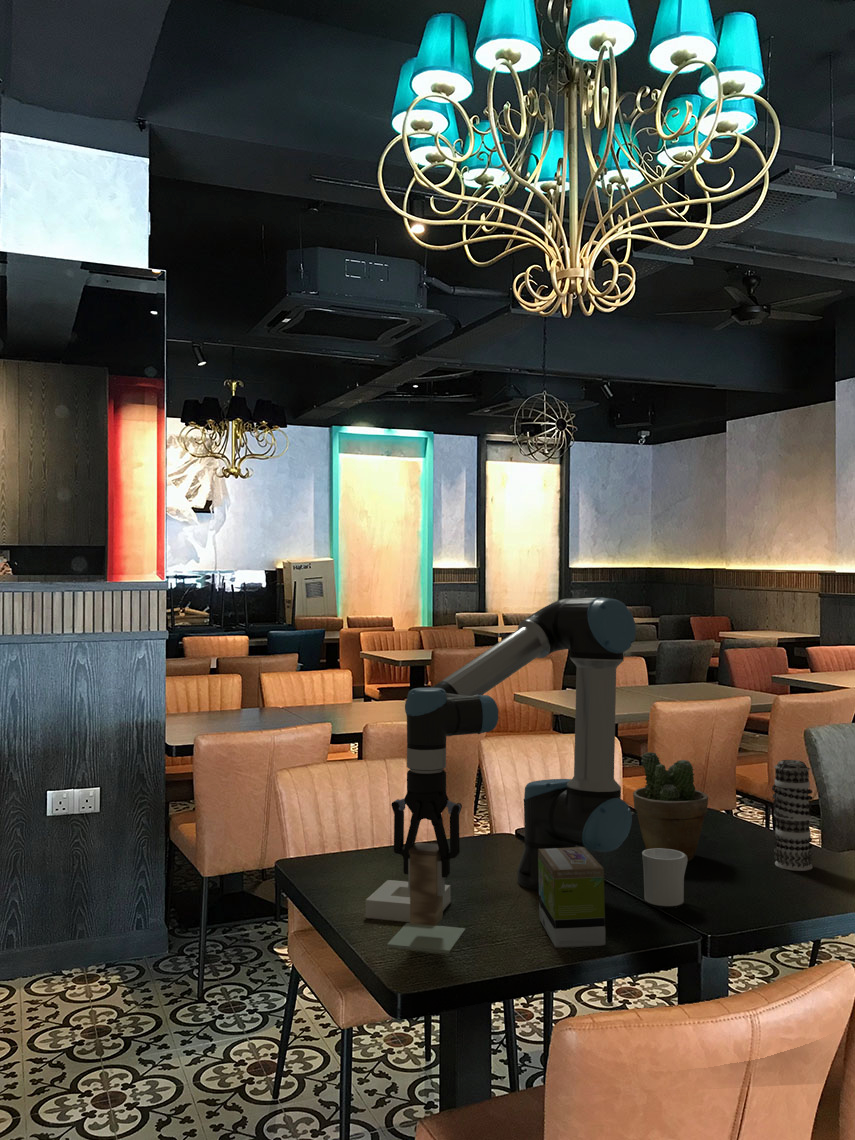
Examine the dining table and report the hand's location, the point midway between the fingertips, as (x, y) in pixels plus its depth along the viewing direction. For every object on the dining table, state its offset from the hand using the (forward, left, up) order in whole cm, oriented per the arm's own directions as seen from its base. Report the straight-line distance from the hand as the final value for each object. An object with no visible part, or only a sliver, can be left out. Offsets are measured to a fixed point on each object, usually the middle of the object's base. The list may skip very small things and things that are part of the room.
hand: (426, 892), depth 178 cm
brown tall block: (0, 0, -5) cm, 5 cm away
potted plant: (-43, -72, -9) cm, 84 cm away
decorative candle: (-71, -71, -9) cm, 101 cm away
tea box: (-26, -11, -9) cm, 29 cm away
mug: (-43, -35, -9) cm, 56 cm away
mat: (0, 0, -9) cm, 9 cm away
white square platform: (+8, -14, -9) cm, 18 cm away
